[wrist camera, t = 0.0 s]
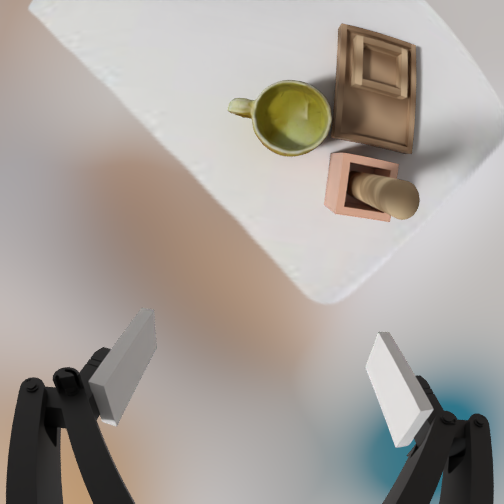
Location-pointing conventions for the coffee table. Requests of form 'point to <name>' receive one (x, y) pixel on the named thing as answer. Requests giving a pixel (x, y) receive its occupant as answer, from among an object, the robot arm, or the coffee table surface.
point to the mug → (287, 117)
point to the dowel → (384, 193)
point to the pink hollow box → (338, 182)
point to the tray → (374, 90)
